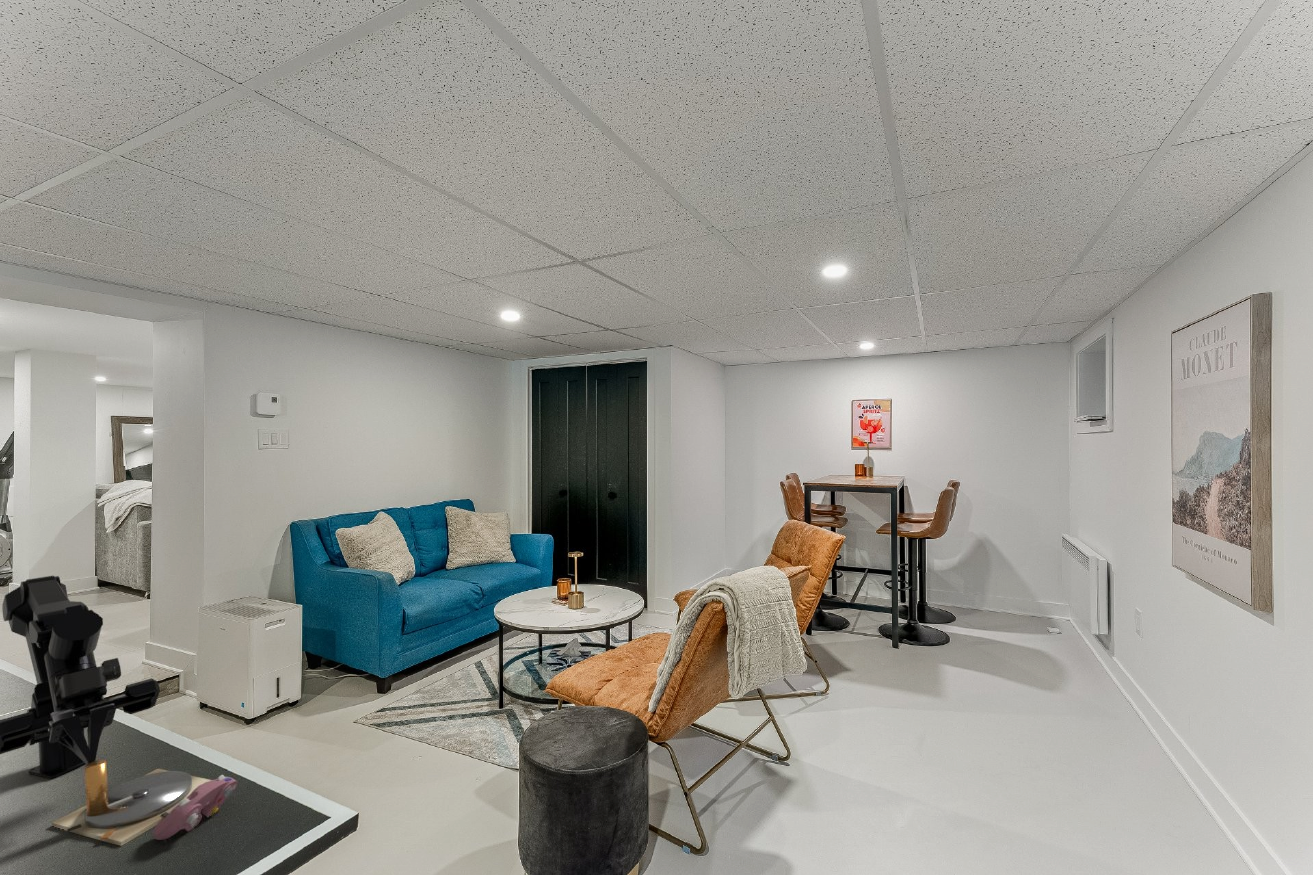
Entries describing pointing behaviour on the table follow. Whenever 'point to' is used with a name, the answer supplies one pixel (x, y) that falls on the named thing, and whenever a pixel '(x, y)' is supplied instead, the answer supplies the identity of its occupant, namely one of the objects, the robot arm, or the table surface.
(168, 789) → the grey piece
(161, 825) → the video game controller
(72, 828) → the panel
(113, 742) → the table surface
